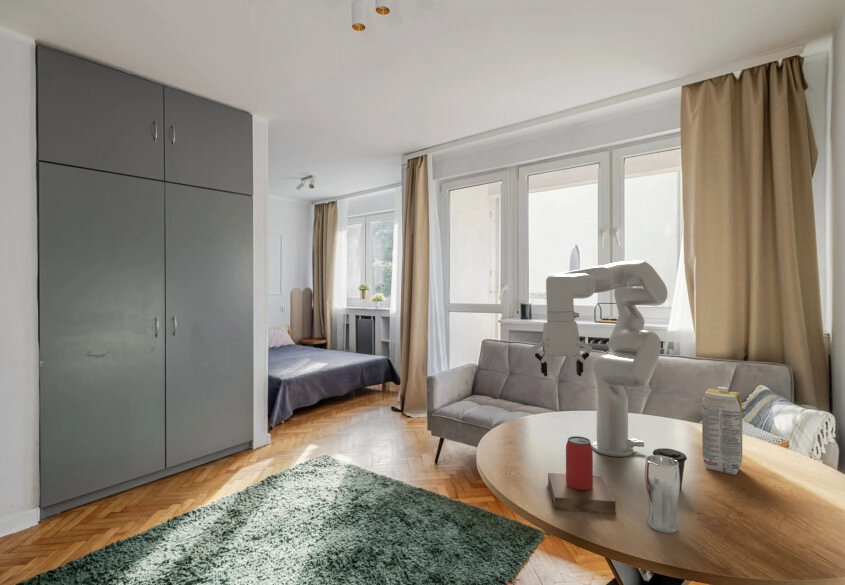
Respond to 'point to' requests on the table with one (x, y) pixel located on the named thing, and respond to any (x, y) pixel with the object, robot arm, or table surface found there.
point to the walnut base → (581, 496)
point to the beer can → (579, 463)
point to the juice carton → (722, 430)
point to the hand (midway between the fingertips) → (562, 375)
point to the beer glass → (662, 492)
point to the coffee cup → (675, 455)
